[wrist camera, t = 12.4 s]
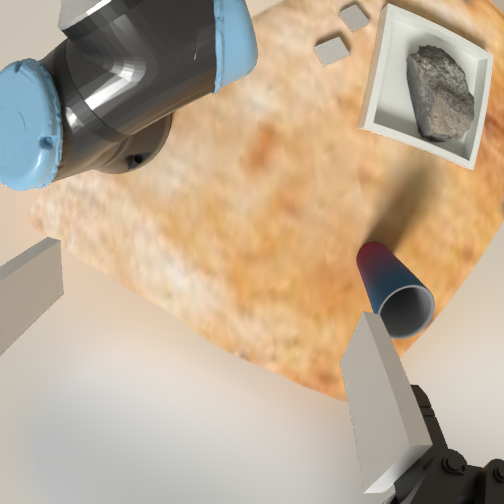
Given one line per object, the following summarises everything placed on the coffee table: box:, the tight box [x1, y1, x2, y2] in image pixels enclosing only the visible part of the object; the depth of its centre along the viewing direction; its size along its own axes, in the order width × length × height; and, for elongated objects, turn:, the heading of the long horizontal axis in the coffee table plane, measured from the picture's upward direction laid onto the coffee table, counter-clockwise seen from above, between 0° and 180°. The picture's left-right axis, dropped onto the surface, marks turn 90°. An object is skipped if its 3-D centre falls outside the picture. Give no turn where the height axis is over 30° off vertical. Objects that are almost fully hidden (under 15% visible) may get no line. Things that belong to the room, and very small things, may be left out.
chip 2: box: [338, 4, 370, 33], centre depth 32 cm, size 3×3×2 cm
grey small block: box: [313, 37, 350, 67], centre depth 34 cm, size 4×3×2 cm
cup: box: [356, 242, 435, 339], centre depth 38 cm, size 7×7×15 cm
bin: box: [357, 3, 493, 170], centre depth 33 cm, size 17×18×4 cm
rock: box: [406, 45, 475, 142], centre depth 31 cm, size 13×9×6 cm, turn 16°
